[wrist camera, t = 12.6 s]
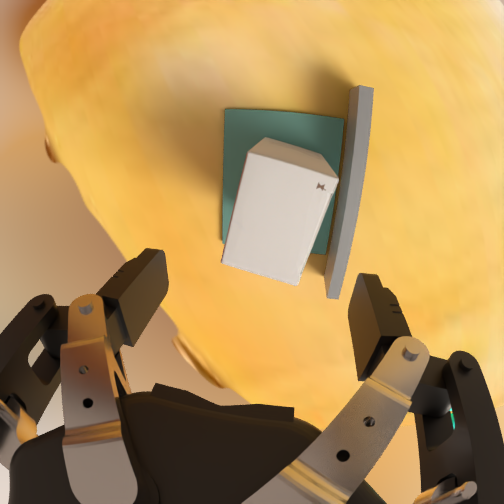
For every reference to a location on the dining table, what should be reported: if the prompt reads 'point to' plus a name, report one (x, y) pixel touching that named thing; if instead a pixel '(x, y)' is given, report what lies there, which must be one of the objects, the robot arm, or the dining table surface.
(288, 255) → the small box
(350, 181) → the divider wall
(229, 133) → the mat
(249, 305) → the dining table surface
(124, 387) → the robot arm
